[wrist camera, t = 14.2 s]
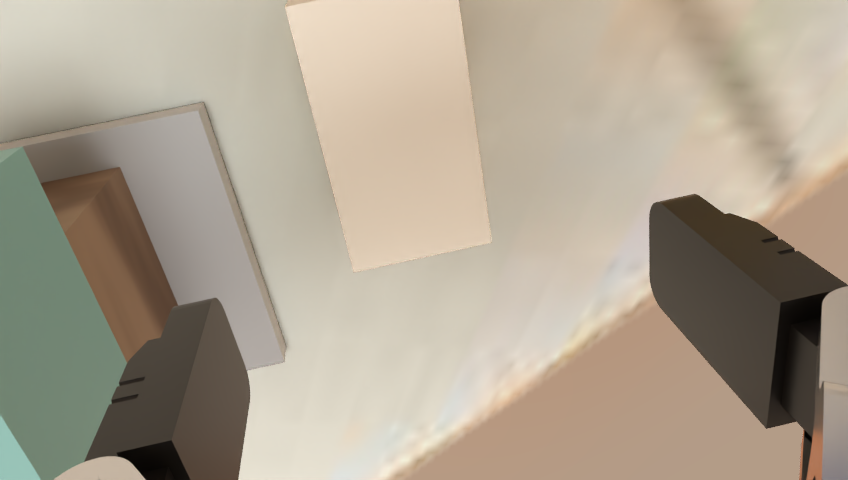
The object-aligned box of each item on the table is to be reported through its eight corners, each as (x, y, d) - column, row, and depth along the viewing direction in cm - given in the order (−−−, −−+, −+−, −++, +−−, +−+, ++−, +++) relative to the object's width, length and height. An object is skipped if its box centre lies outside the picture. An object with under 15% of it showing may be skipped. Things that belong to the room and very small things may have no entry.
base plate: (203, 102, 25) (197, 110, 24) (285, 346, 30) (284, 362, 29) (-109, 165, 24) (-129, 176, 23) (33, 402, 30) (22, 420, 29)
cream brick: (426, -40, 24) (455, -28, 19) (460, 180, 28) (491, 242, 23) (294, -14, 24) (285, 6, 18) (348, 204, 28) (353, 272, 22)
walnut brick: (119, 166, 24) (61, 236, 19) (198, 352, 29) (168, 452, 23) (-13, 194, 24) (-108, 271, 19) (86, 377, 28) (30, 483, 23)
